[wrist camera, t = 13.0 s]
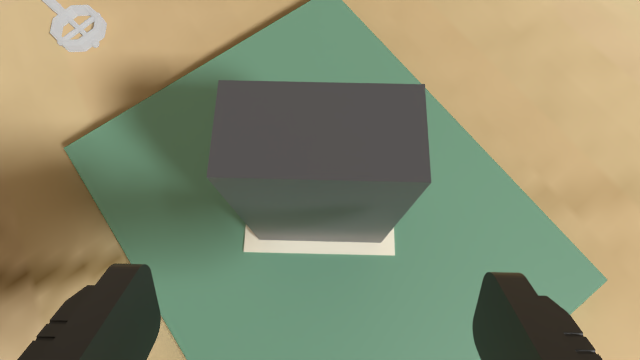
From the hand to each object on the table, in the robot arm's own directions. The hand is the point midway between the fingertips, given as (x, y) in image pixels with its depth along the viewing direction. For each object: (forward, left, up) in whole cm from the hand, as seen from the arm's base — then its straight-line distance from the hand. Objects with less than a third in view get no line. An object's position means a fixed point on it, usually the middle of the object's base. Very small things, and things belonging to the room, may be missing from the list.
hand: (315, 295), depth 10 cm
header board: (-4, +3, -11) cm, 12 cm away
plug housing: (-4, +3, -9) cm, 10 cm away
